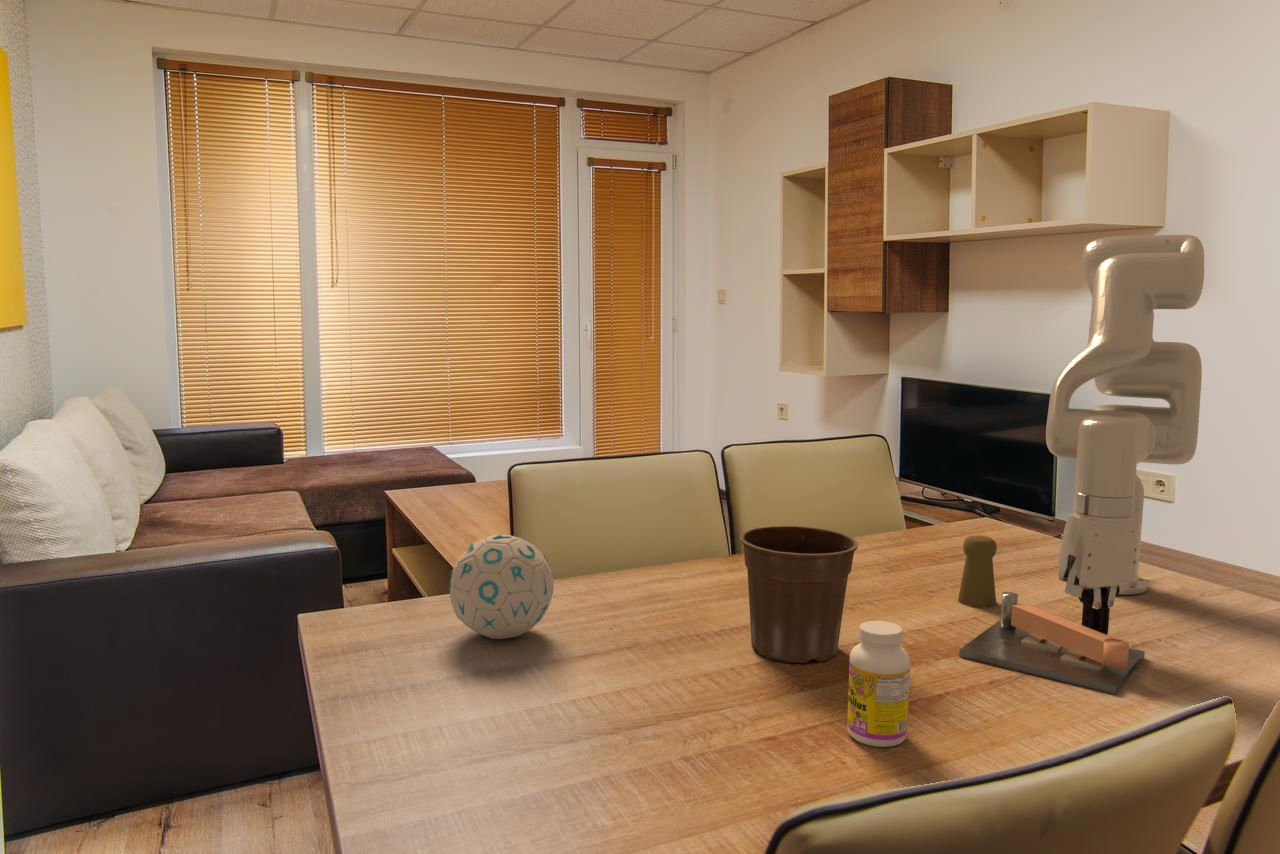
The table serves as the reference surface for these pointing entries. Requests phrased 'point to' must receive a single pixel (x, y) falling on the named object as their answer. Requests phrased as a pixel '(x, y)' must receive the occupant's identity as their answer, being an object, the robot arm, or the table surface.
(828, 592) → the plant pot
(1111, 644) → the swing bar
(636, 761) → the table surface
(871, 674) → the supplement bottle
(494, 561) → the puzzle ball
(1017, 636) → the panel
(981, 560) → the cork
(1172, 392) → the robot arm
